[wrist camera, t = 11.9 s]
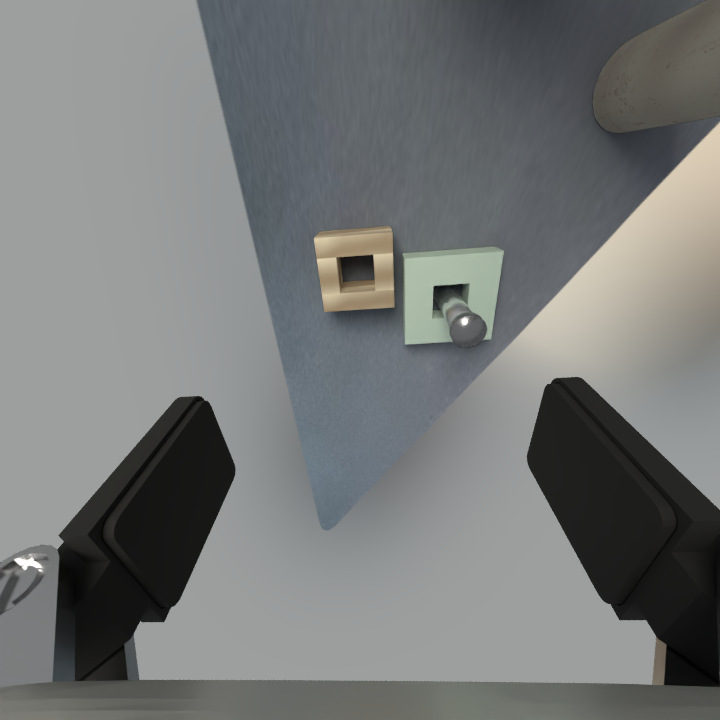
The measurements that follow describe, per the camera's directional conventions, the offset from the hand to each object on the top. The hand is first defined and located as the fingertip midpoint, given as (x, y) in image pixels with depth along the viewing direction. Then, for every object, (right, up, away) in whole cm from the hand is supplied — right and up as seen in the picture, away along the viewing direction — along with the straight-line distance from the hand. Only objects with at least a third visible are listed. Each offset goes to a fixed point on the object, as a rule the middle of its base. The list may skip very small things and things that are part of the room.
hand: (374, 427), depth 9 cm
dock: (+12, +11, +35) cm, 39 cm away
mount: (-1, +15, +33) cm, 37 cm away
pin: (+12, +11, +35) cm, 39 cm away
